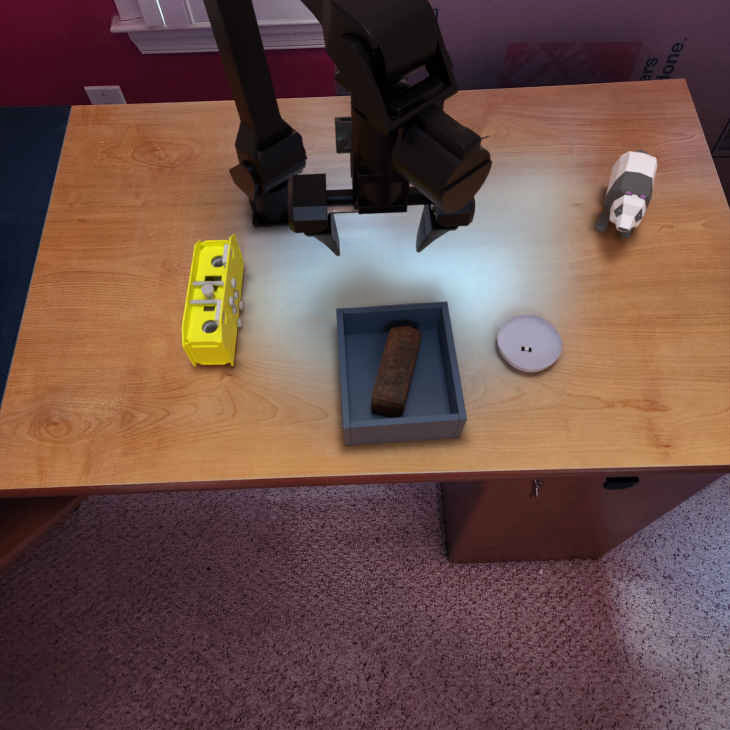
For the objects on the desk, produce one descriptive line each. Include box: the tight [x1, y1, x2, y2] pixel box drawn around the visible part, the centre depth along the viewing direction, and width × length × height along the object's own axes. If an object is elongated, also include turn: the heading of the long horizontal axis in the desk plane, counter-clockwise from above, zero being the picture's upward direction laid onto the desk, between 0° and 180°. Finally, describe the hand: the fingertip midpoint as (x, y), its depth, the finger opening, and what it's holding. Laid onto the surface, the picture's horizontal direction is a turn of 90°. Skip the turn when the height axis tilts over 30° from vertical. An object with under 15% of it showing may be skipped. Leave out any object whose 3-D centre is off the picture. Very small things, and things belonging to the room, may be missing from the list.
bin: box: [335, 301, 468, 447], centre depth 69 cm, size 14×16×6 cm
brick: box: [371, 326, 422, 418], centre depth 69 cm, size 11×4×5 cm, turn 166°
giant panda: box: [594, 149, 658, 240], centre depth 79 cm, size 15×6×10 cm, turn 159°
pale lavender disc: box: [496, 313, 563, 373], centre depth 73 cm, size 8×8×2 cm
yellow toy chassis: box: [181, 233, 245, 368], centre depth 73 cm, size 16×6×8 cm, turn 1°
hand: (378, 251), depth 67 cm, fingers open, 9 cm apart
